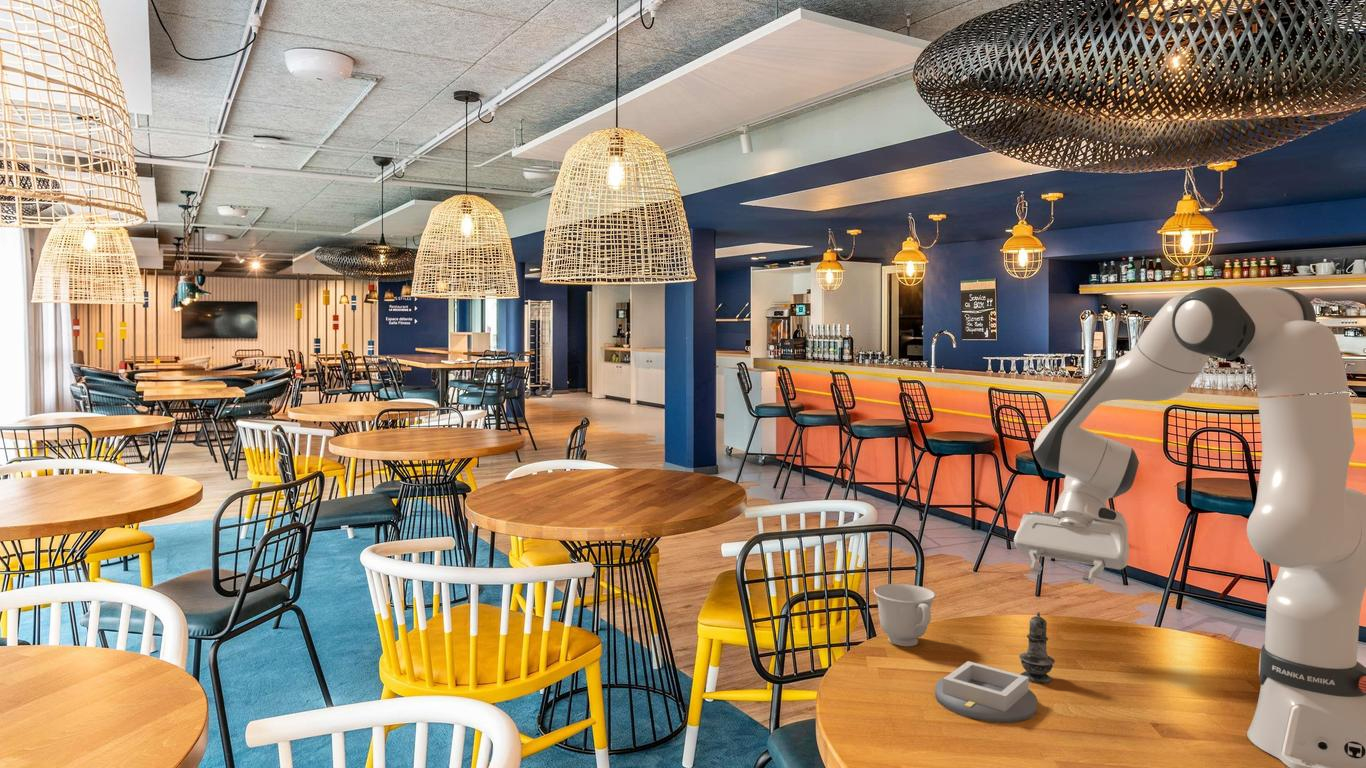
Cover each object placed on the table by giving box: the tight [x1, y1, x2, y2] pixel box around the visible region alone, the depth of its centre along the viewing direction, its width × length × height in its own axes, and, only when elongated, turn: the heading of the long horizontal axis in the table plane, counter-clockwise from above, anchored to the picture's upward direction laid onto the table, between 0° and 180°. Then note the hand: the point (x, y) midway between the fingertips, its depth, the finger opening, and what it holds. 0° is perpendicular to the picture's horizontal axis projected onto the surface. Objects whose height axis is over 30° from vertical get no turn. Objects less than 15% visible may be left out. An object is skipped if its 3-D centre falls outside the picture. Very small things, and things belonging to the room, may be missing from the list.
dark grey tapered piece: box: [1018, 611, 1056, 685], centre depth 152 cm, size 6×6×12 cm
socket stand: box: [934, 660, 1038, 724], centre depth 142 cm, size 16×16×4 cm
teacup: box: [873, 583, 936, 647], centre depth 169 cm, size 12×15×10 cm
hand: (1060, 576), depth 161 cm, fingers open, 8 cm apart
